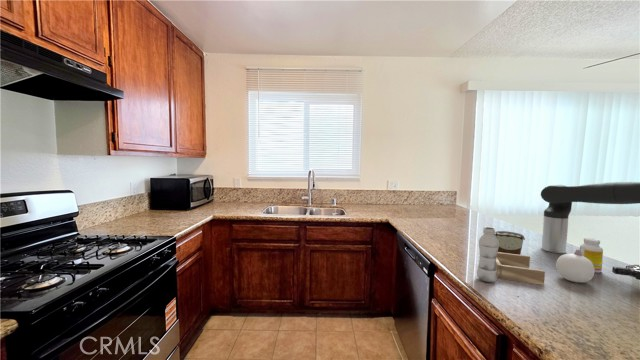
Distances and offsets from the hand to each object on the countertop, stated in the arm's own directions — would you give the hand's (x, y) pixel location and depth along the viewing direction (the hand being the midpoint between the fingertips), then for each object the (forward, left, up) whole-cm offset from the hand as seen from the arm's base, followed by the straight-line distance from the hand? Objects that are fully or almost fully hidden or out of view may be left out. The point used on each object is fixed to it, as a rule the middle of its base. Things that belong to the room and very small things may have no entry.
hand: (613, 270), depth 93 cm
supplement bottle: (-16, 0, -6) cm, 17 cm away
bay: (0, -29, -6) cm, 29 cm away
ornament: (0, -11, -6) cm, 12 cm away
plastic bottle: (+13, -41, -6) cm, 43 cm away
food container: (-27, -26, -6) cm, 38 cm away
